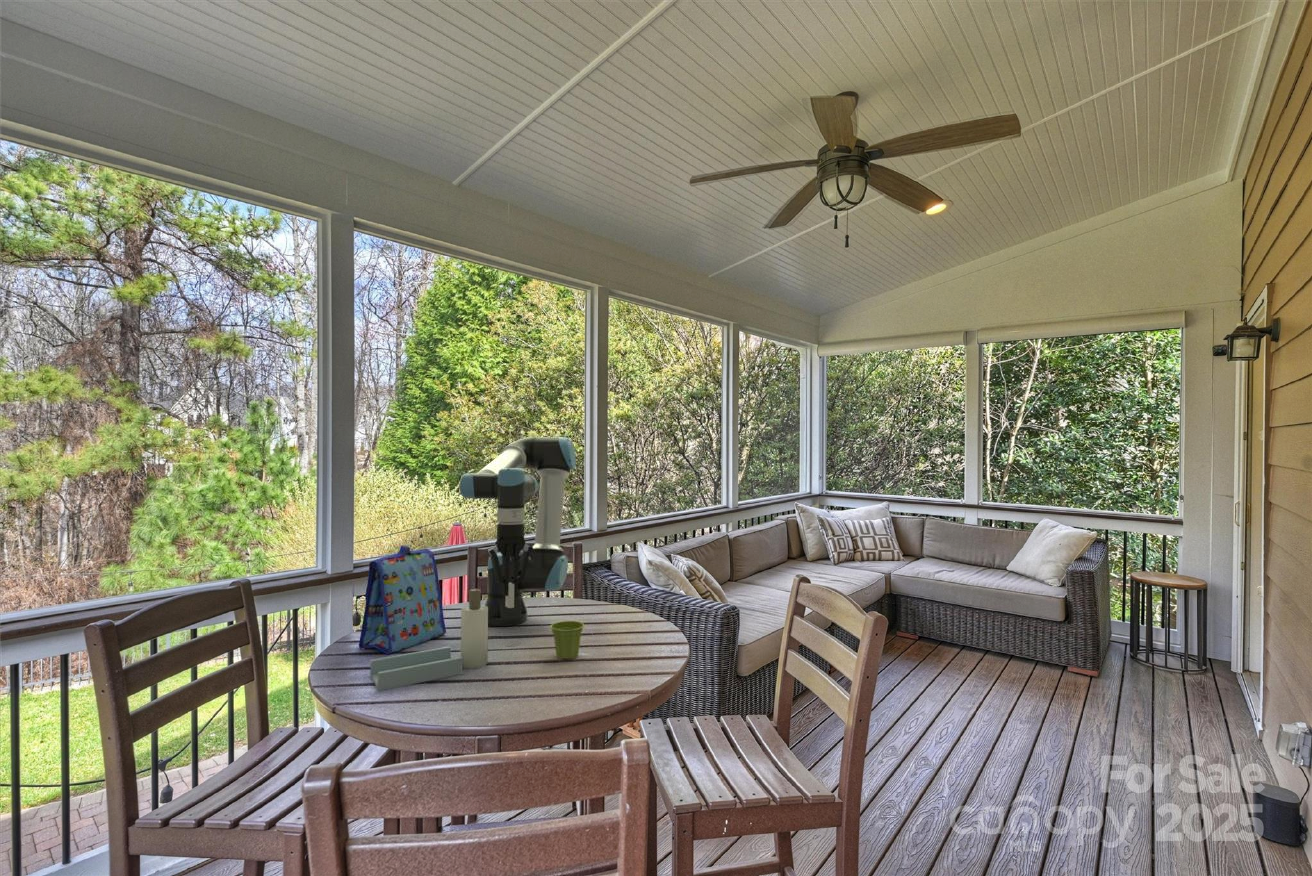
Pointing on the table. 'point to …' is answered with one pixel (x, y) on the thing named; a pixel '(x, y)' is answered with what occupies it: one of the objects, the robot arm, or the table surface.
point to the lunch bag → (402, 601)
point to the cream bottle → (474, 632)
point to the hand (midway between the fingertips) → (509, 606)
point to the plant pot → (567, 638)
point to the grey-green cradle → (414, 668)
